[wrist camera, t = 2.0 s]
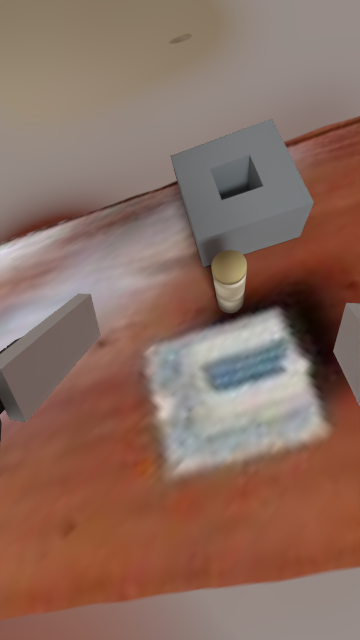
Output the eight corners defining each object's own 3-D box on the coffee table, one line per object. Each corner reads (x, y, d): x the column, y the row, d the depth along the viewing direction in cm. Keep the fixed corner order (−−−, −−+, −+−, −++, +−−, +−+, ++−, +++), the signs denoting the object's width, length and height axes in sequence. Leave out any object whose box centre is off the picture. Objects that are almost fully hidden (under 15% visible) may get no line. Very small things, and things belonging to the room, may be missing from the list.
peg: (238, 285, 43) (240, 245, 31) (246, 308, 41) (251, 275, 30) (214, 293, 43) (207, 256, 32) (221, 316, 42) (216, 285, 31)
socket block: (266, 162, 48) (271, 118, 40) (299, 236, 43) (313, 202, 35) (180, 192, 50) (170, 156, 42) (203, 267, 45) (196, 240, 37)
